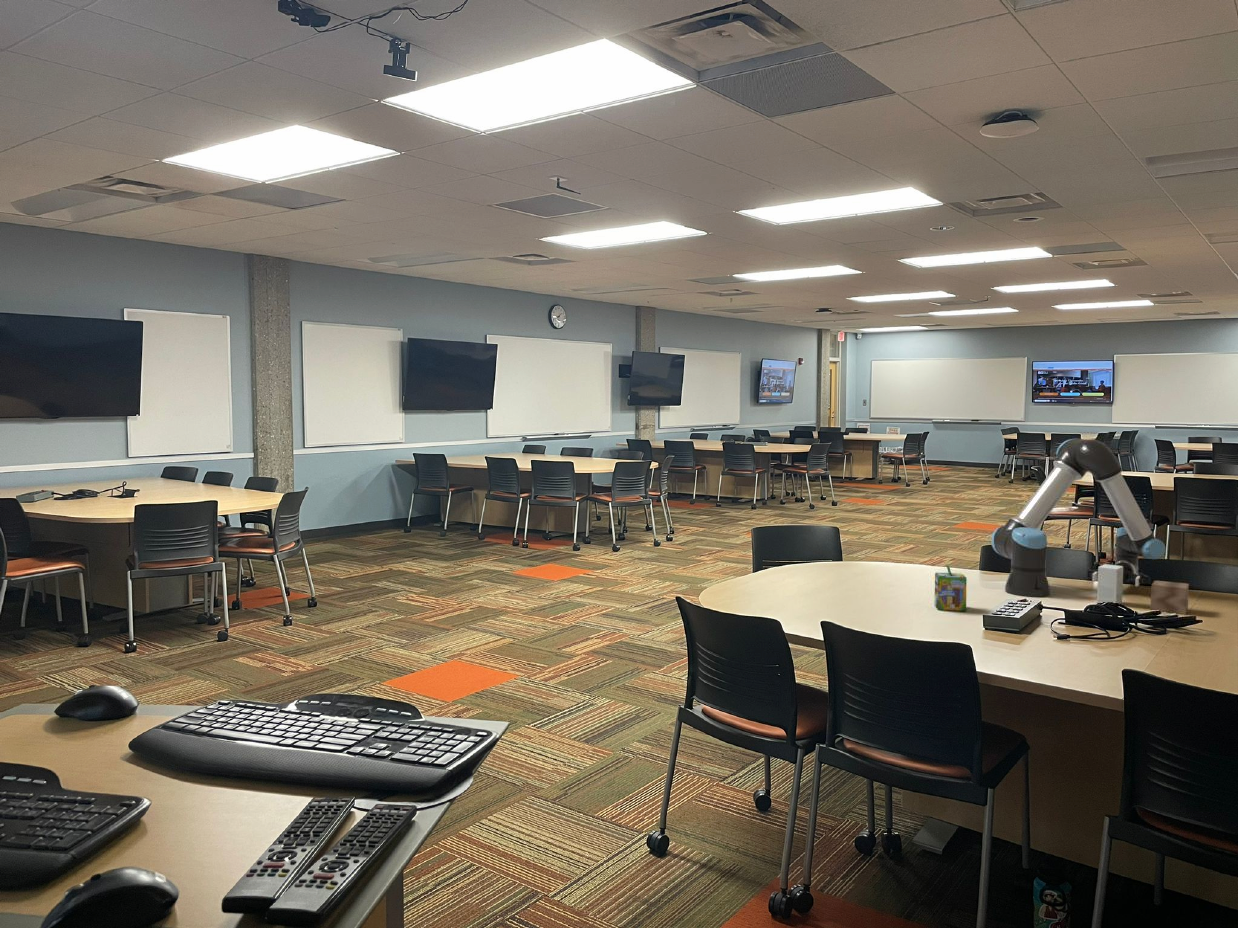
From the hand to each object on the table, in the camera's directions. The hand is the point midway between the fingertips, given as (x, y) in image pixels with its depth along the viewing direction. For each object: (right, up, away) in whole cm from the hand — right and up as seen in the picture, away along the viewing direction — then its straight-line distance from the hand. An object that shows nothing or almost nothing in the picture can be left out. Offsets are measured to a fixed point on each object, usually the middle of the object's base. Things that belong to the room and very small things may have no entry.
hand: (1114, 580), depth 324 cm
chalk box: (-65, -8, -17) cm, 68 cm away
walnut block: (+9, -8, -17) cm, 21 cm away
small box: (-5, -7, -6) cm, 11 cm away
